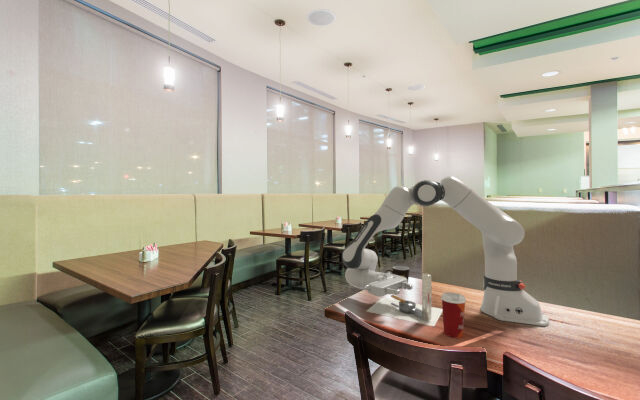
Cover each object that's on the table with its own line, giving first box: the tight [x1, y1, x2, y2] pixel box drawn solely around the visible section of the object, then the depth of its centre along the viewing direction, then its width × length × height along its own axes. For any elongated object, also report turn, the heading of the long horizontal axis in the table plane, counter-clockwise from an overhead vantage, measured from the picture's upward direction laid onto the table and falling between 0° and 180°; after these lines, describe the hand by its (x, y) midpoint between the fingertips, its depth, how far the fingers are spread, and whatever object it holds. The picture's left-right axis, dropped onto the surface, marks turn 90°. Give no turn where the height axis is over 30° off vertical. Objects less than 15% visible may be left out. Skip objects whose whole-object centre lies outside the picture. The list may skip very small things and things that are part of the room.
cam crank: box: [390, 273, 432, 320], centre depth 115 cm, size 21×6×17 cm, turn 27°
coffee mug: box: [385, 265, 410, 290], centre depth 152 cm, size 12×9×10 cm
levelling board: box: [366, 297, 443, 327], centre depth 117 cm, size 26×19×2 cm
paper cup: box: [440, 291, 467, 339], centre depth 97 cm, size 8×8×14 cm
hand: (405, 289), depth 114 cm, fingers open, 8 cm apart
